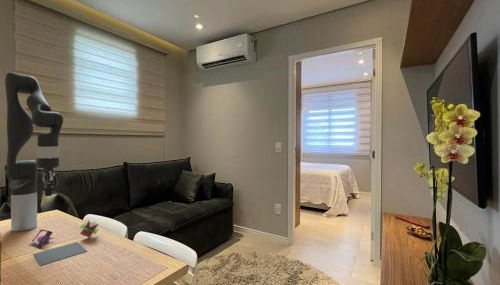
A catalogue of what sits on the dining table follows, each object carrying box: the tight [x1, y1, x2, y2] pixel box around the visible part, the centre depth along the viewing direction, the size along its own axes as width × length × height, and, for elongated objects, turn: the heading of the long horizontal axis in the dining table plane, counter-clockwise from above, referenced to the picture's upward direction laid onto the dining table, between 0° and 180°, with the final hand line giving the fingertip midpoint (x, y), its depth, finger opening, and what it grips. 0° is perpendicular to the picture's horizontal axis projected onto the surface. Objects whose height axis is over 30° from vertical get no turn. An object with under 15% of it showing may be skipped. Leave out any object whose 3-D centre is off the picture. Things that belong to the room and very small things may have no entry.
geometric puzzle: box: [79, 219, 99, 238], centre depth 106 cm, size 7×7×8 cm
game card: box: [28, 229, 55, 249], centre depth 100 cm, size 7×5×9 cm
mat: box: [33, 241, 88, 267], centre depth 92 cm, size 13×14×1 cm
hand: (48, 195), depth 105 cm, fingers closed
